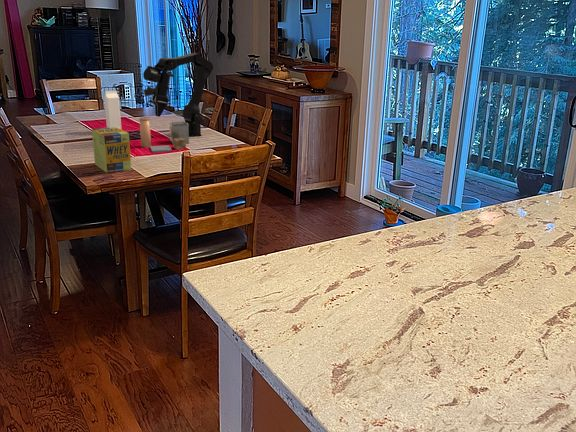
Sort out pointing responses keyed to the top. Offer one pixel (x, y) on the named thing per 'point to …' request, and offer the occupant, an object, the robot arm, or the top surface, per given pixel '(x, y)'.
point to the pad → (160, 148)
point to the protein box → (111, 149)
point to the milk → (112, 109)
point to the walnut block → (179, 143)
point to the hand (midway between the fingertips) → (157, 116)
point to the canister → (145, 132)
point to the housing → (179, 131)
